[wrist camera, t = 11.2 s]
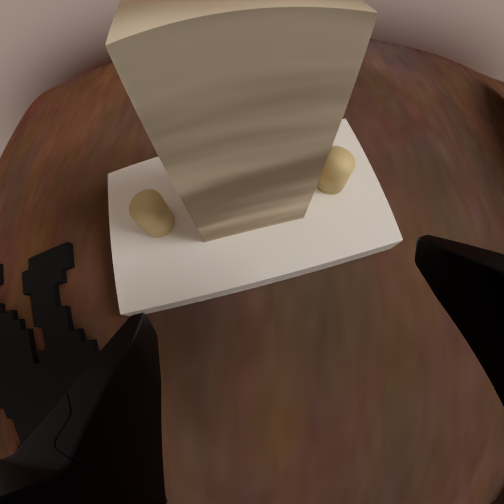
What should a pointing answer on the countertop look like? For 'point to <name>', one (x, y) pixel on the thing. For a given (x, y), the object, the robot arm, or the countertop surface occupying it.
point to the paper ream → (241, 98)
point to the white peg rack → (240, 245)
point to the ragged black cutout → (56, 341)
